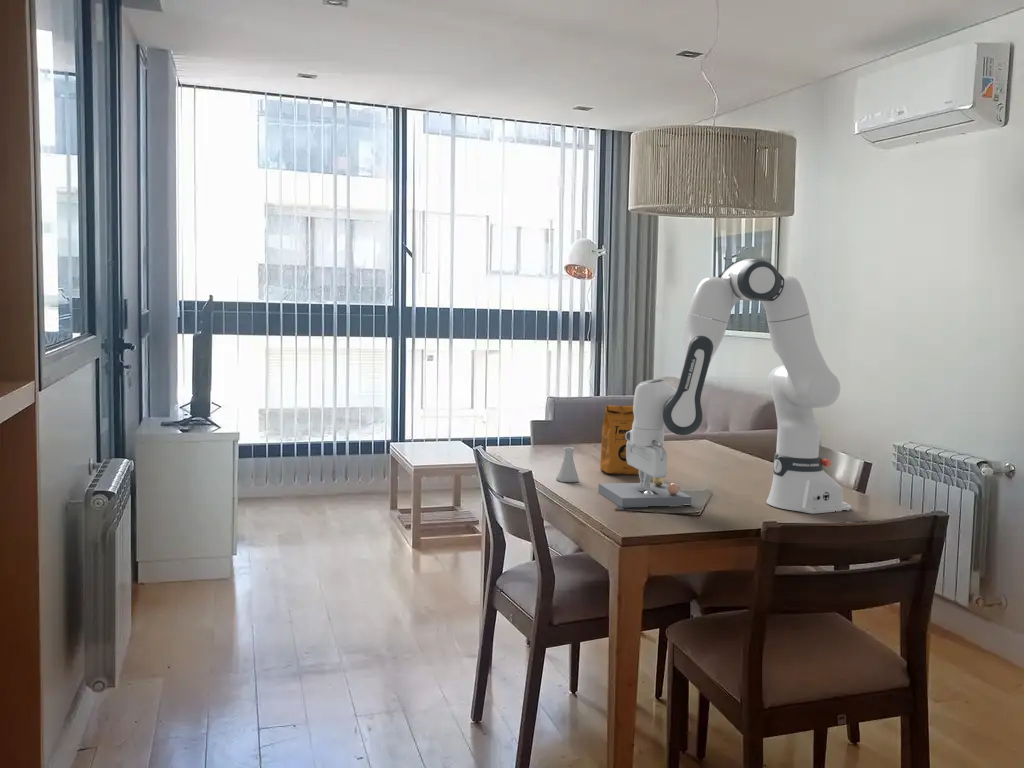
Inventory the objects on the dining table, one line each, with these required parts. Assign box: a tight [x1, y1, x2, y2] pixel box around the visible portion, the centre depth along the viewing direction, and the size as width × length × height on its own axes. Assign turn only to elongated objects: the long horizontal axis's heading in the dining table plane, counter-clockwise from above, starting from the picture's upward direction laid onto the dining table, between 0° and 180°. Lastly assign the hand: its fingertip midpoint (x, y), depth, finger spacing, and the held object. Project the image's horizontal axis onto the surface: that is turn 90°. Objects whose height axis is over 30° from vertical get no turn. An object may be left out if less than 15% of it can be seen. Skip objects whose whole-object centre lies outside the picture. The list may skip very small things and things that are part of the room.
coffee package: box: [599, 404, 639, 476], centre depth 265 cm, size 10×12×22 cm
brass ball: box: [652, 477, 665, 486], centre depth 237 cm, size 3×3×3 cm
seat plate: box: [597, 482, 692, 508], centre depth 230 cm, size 20×18×2 cm
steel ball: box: [643, 490, 654, 494], centre depth 227 cm, size 3×3×3 cm
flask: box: [555, 446, 580, 483], centre depth 251 cm, size 7×7×10 cm
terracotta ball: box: [668, 482, 680, 495], centre depth 226 cm, size 3×3×3 cm
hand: (644, 487), depth 230 cm, fingers closed
